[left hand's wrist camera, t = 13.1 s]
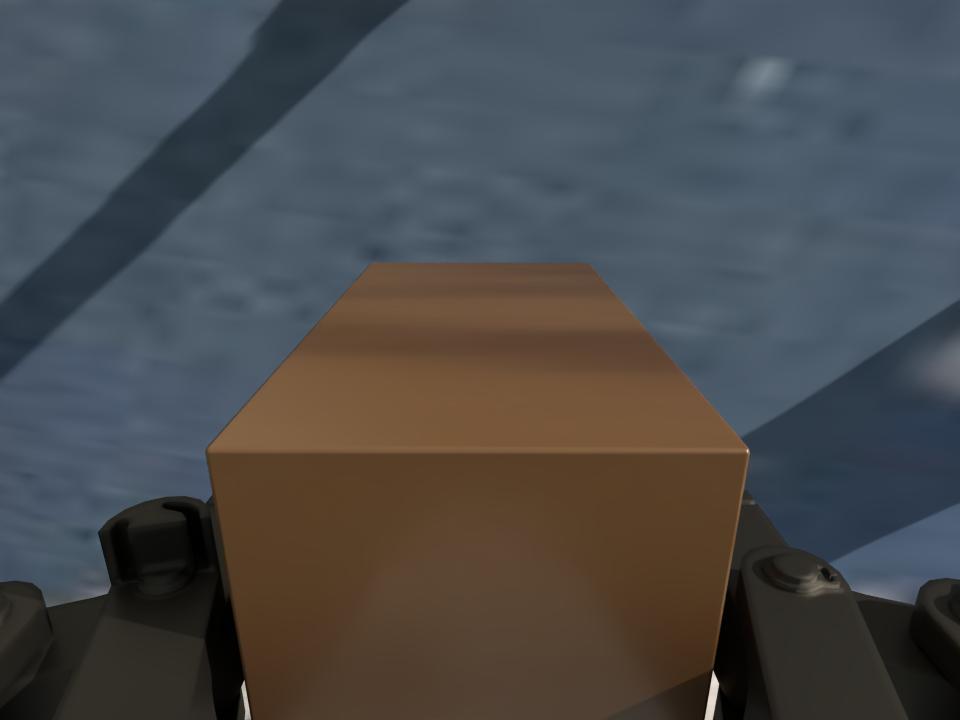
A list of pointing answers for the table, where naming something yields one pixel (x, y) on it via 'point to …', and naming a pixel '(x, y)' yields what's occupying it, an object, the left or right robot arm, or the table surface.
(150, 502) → the left robot arm
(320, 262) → the table surface
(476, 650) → the bar
